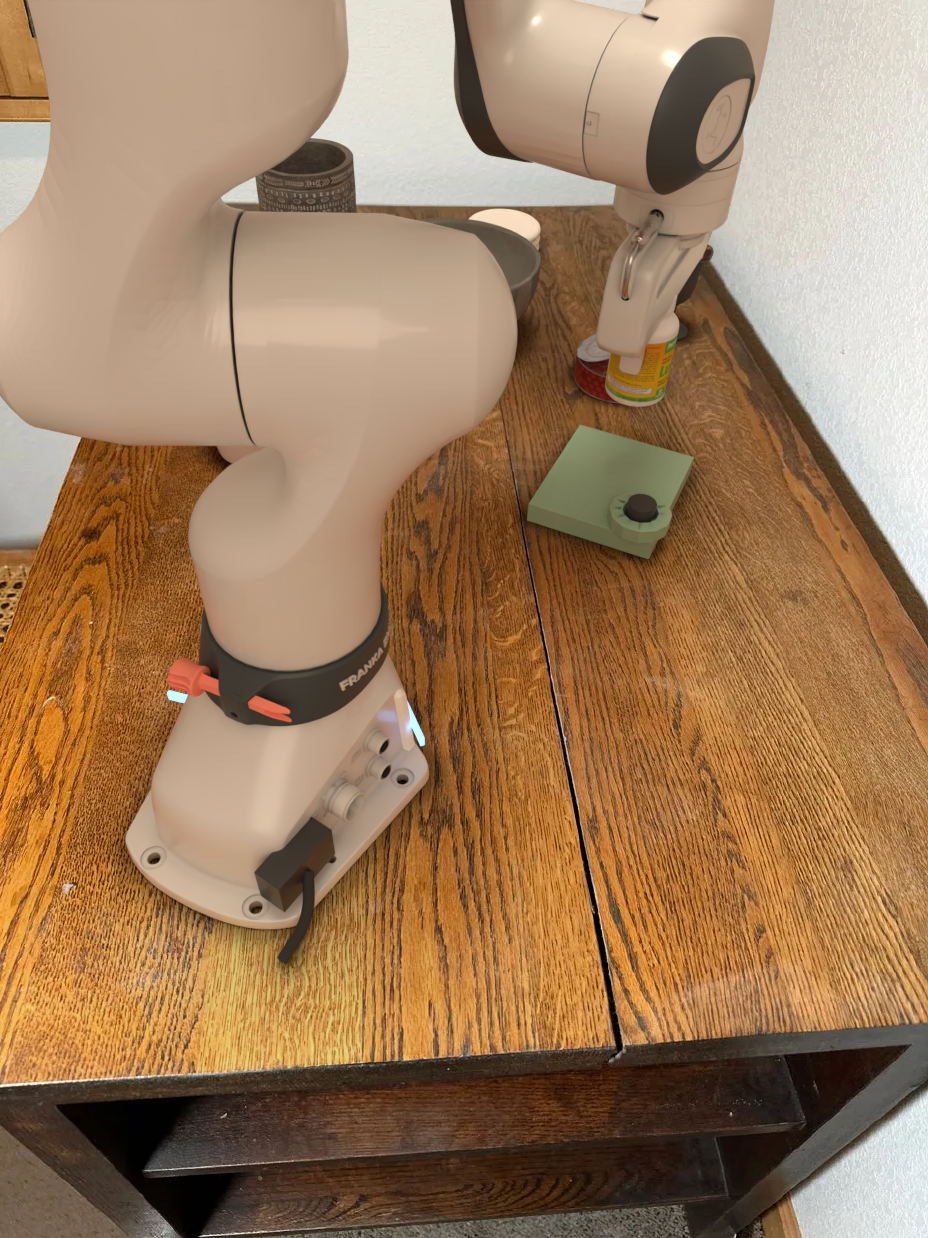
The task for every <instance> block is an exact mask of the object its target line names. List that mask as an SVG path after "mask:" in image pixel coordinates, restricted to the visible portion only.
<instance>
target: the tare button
mask: <svg viewBox="0 0 928 1238" xmlns="http://www.w3.org/2000/svg"><path fill="white" fill-rule="evenodd" d="M656 508H657V502H656V500H655V499H654V498H653V497H651V496H649V495H646V494H635V495H632V496H631V497H630V498H629V499H628V503H627V508H626V515H627V517H628V518H629V519H630V520H632V521H635V522H639V523H648V522H650V521H652V520H653V519H654V517H655V512H656Z"/></svg>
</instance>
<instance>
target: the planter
mask: <svg viewBox="0 0 928 1238" xmlns="http://www.w3.org/2000/svg"><path fill="white" fill-rule="evenodd" d="M254 178H255V186H256V187H255V188H256V192H257V193H256V194H257V199H258V200H257V201H258V208H259V212H332V213H358V210H357V192H356V189H357V188H356V176H355V161H354V154H353V152H352V150H351V149H350V148H349V147H347V146H346V145H344V144H342V143H339V142H337V141H333V140H330V139H324V138H318V137H317V138H316V137H311V138H310V139H309V140H308V141H307V142H306V143H305V144H304V145H303V146H302V147H301V148H300V149H298V150H297V151H296V152H295V153H293V154H292V155H291V156H289V157H288V158H287V159H285V160H284V161H283V162H281V163H279V164H278V165H276V166H275V167H273V168H271V169H269V170H267V171H265V172H263V173H261V174H260V175H258V176H256V177H254Z"/></svg>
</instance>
